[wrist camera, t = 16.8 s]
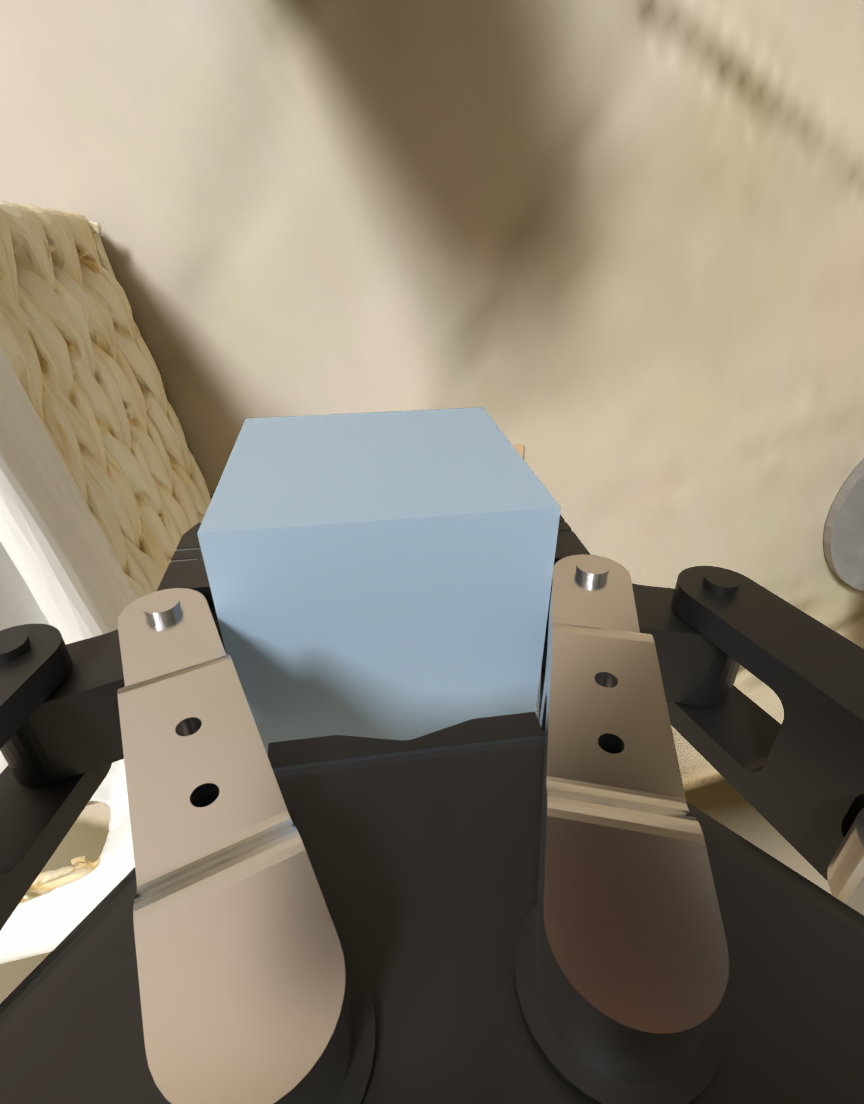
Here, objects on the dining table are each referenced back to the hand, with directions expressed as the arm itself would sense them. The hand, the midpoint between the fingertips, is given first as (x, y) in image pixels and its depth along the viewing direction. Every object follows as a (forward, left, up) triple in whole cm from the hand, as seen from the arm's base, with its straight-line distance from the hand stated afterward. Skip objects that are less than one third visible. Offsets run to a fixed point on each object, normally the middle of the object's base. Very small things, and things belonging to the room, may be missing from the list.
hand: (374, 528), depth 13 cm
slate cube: (0, 0, 0) cm, 0 cm away
